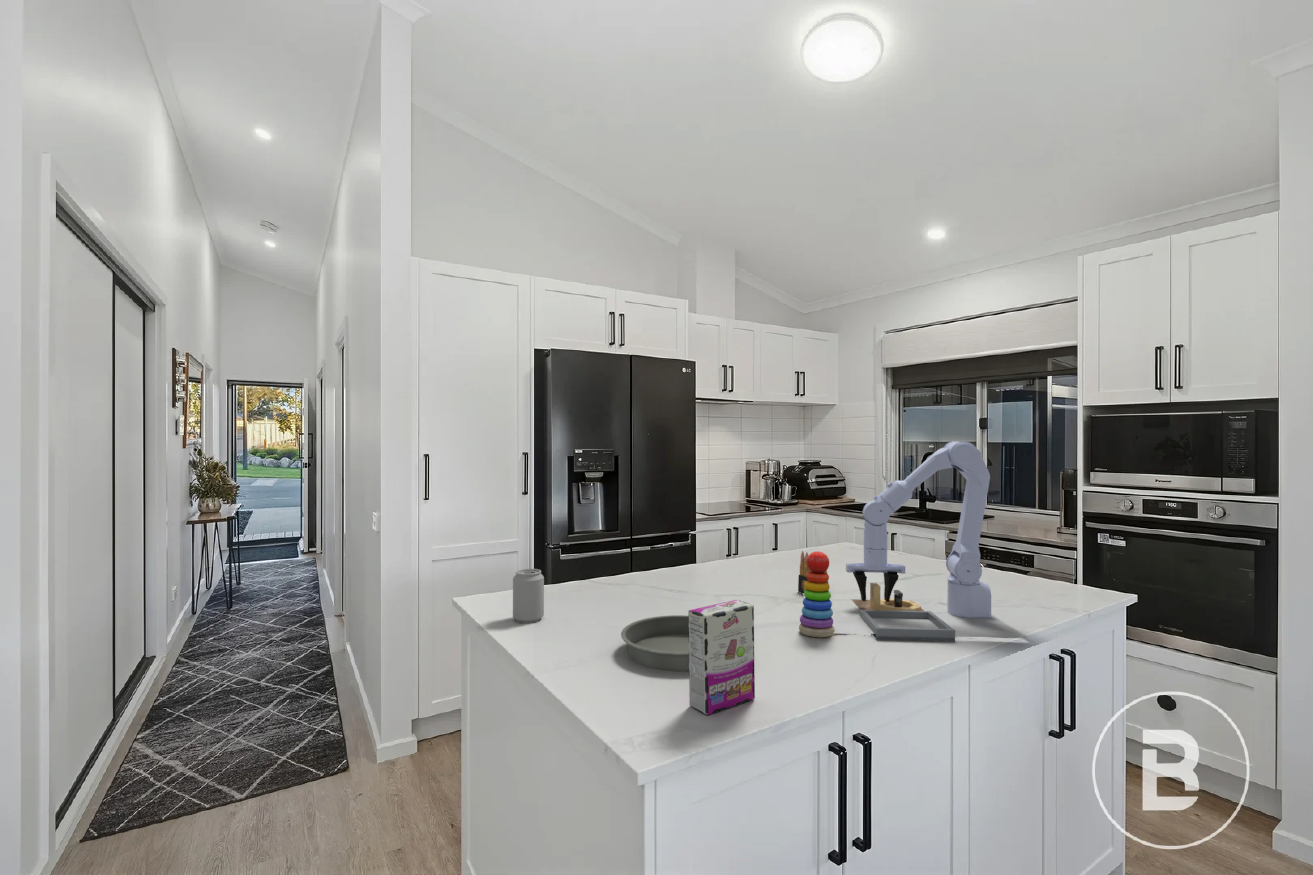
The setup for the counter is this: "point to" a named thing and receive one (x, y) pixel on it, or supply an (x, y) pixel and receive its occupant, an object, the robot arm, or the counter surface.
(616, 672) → the counter surface
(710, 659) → the candy bar box
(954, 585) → the robot arm
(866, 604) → the stake board
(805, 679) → the counter surface
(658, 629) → the cake pan
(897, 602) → the stake
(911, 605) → the ring
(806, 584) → the stacking toy
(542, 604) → the can
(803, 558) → the ammunition clip
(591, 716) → the counter surface
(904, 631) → the tray
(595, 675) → the counter surface
